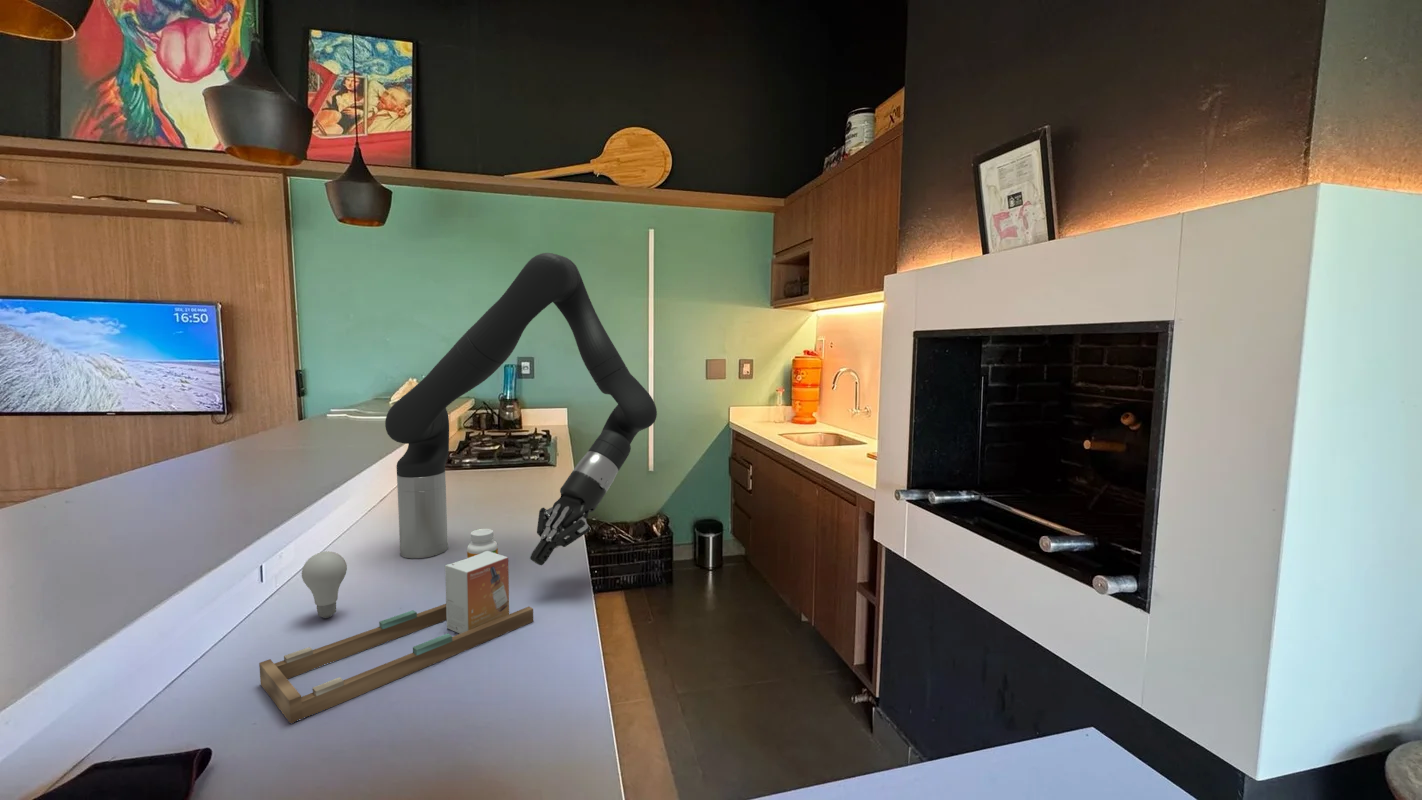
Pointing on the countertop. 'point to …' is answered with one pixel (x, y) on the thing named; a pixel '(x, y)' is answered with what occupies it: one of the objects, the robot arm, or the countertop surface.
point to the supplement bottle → (481, 542)
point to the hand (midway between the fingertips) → (535, 562)
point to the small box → (476, 591)
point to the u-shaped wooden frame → (343, 690)
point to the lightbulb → (324, 580)
